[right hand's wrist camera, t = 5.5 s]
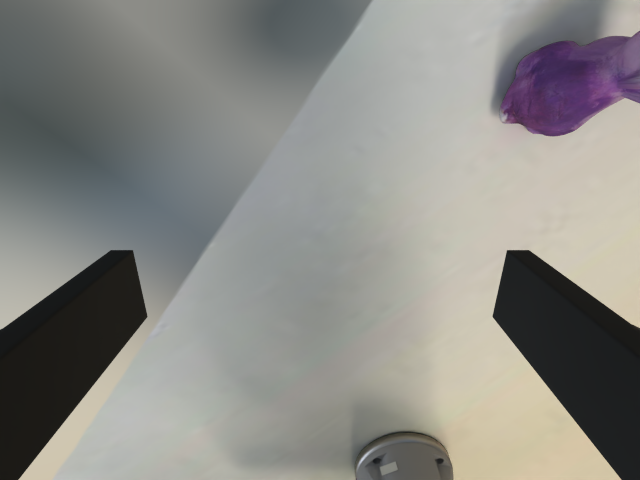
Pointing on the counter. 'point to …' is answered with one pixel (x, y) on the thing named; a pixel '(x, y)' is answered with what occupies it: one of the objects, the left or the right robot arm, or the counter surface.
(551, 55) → the figurine
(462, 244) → the counter surface
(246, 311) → the counter surface
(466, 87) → the counter surface
